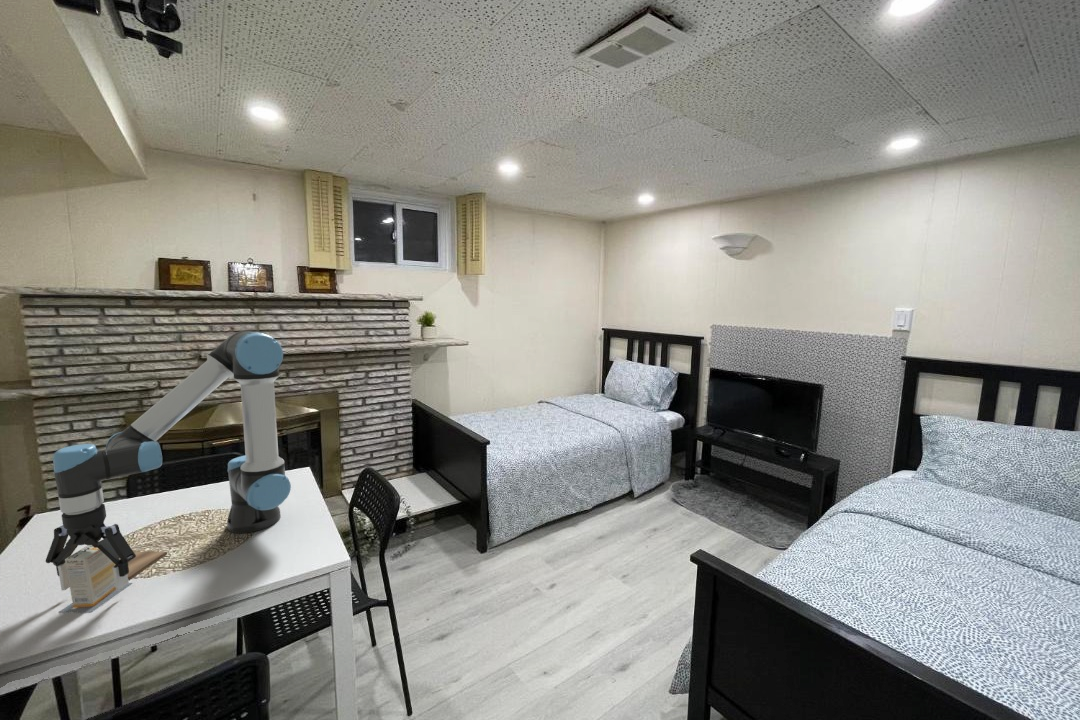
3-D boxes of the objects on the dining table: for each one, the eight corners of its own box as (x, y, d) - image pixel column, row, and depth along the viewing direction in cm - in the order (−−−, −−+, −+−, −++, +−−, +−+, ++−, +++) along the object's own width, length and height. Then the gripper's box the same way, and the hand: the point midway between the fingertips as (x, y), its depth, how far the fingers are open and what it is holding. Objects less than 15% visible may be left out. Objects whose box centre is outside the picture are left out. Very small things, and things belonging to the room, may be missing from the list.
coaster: (166, 554, 133) (166, 551, 133) (130, 579, 121) (129, 576, 121) (126, 553, 133) (126, 551, 133) (85, 579, 121) (85, 576, 121)
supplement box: (101, 586, 118) (94, 540, 116) (120, 585, 118) (114, 539, 116) (71, 608, 110) (63, 558, 108) (92, 607, 110) (84, 557, 108)
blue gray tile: (132, 583, 119) (132, 582, 119) (91, 612, 108) (91, 611, 108) (102, 583, 119) (102, 582, 119) (58, 612, 108) (58, 611, 108)
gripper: (147, 501, 114) (157, 577, 117) (49, 500, 114) (62, 577, 117) (119, 515, 107) (131, 597, 110) (15, 515, 107) (29, 596, 110)
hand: (95, 587), depth 113 cm, fingers open, 13 cm apart
